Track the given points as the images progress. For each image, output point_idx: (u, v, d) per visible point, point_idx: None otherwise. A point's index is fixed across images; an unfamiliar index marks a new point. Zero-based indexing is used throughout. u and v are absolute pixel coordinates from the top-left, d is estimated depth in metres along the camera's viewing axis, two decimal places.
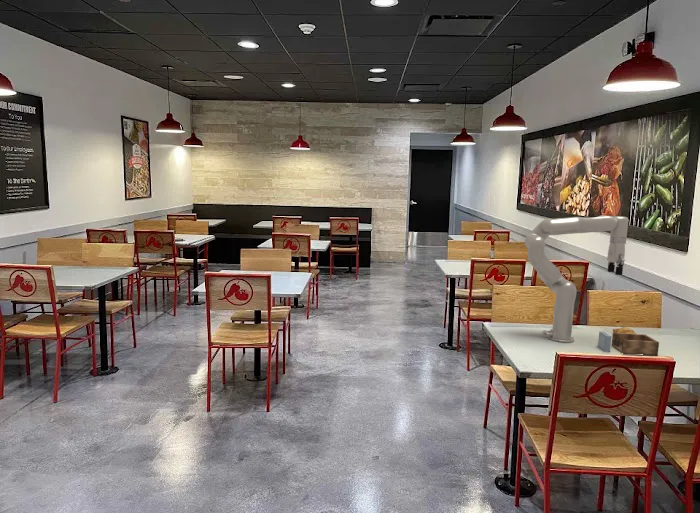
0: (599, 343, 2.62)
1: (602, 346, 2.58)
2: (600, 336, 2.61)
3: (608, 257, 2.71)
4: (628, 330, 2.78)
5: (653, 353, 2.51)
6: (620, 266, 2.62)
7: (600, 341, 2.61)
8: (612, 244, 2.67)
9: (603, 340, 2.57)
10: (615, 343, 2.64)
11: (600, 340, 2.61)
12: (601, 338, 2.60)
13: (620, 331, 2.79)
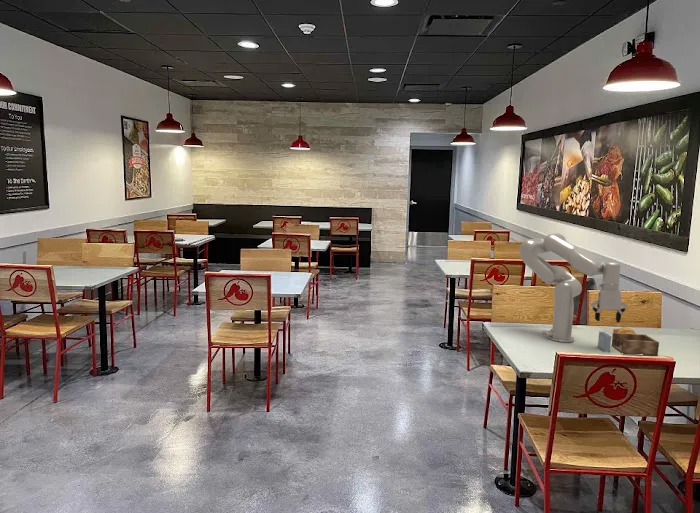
0: (599, 343, 2.62)
1: (602, 346, 2.58)
2: (600, 336, 2.61)
3: (605, 306, 2.54)
4: (628, 330, 2.78)
5: (653, 353, 2.51)
6: None
7: (600, 341, 2.61)
8: (612, 292, 2.53)
9: (603, 340, 2.57)
10: (615, 343, 2.64)
11: (600, 340, 2.61)
12: (600, 338, 2.60)
13: (620, 331, 2.79)
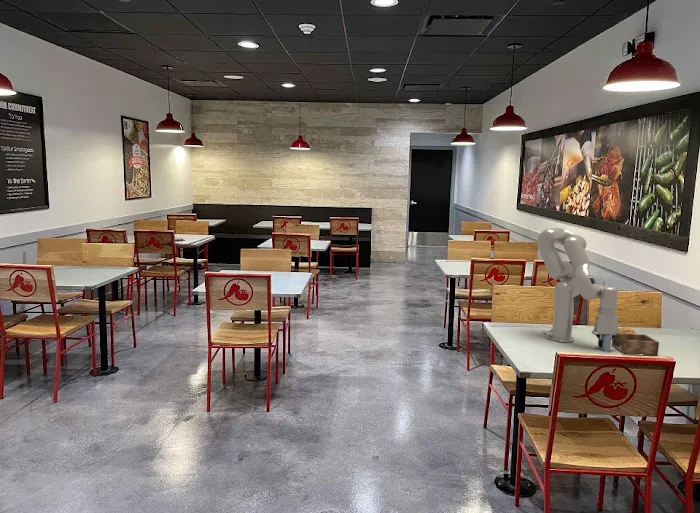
0: None
1: (602, 346, 2.58)
2: None
3: (602, 330, 2.56)
4: (628, 330, 2.78)
5: (653, 353, 2.51)
6: None
7: None
8: (610, 316, 2.55)
9: (603, 340, 2.57)
10: (615, 343, 2.64)
11: None
12: None
13: (620, 331, 2.79)
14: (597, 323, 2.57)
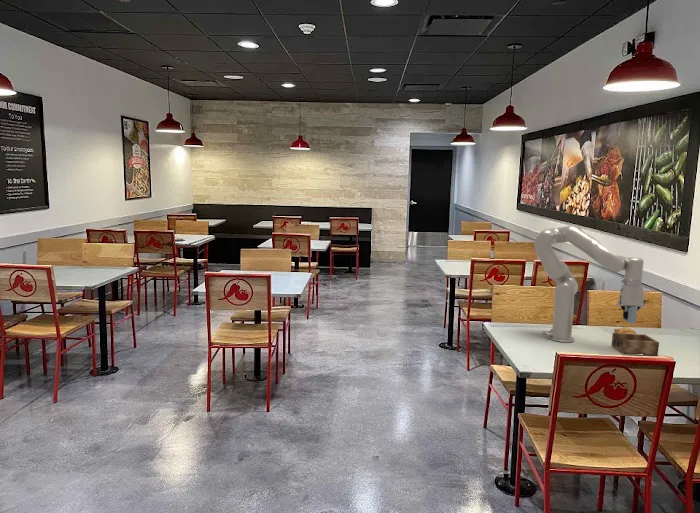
0: None
1: (628, 318, 2.55)
2: None
3: (627, 302, 2.53)
4: (629, 330, 2.78)
5: (653, 353, 2.51)
6: None
7: None
8: (635, 287, 2.52)
9: (629, 312, 2.54)
10: (615, 343, 2.64)
11: None
12: None
13: (621, 331, 2.79)
14: (622, 294, 2.54)
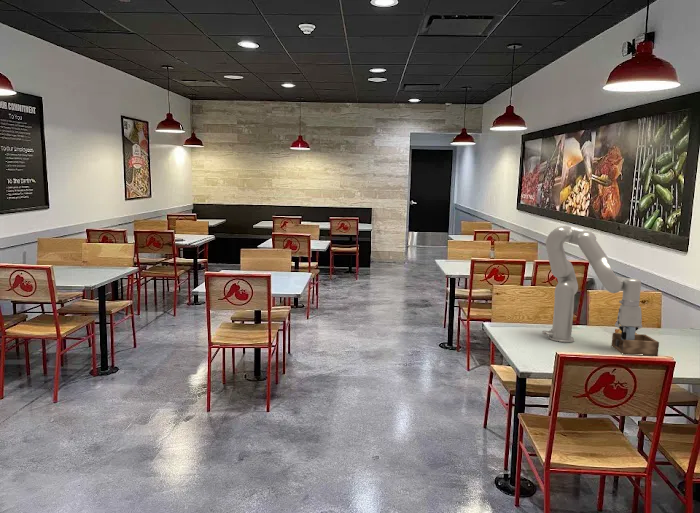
0: None
1: (626, 338, 2.56)
2: None
3: (625, 322, 2.55)
4: None
5: (653, 353, 2.51)
6: None
7: None
8: (633, 308, 2.54)
9: (627, 332, 2.55)
10: (615, 343, 2.64)
11: None
12: None
13: (621, 331, 2.79)
14: (620, 315, 2.55)
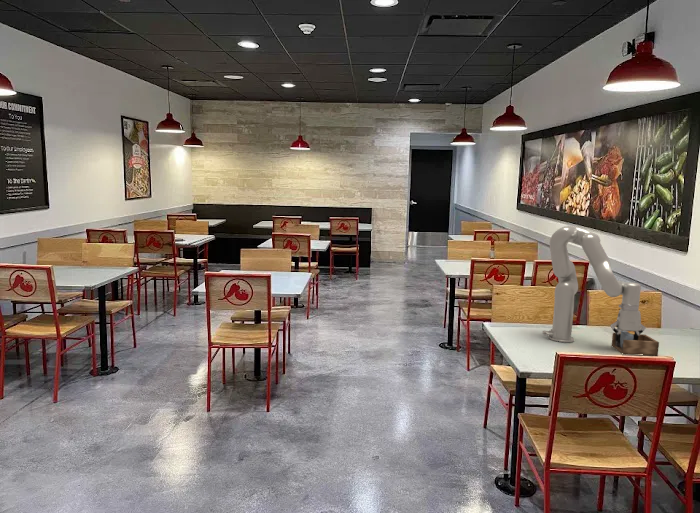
0: (621, 343, 2.61)
1: None
2: (622, 335, 2.60)
3: (624, 326, 2.55)
4: None
5: (653, 353, 2.51)
6: None
7: (622, 340, 2.60)
8: (632, 313, 2.54)
9: (625, 339, 2.56)
10: (615, 343, 2.64)
11: (622, 339, 2.60)
12: (622, 337, 2.59)
13: None
14: (620, 319, 2.56)
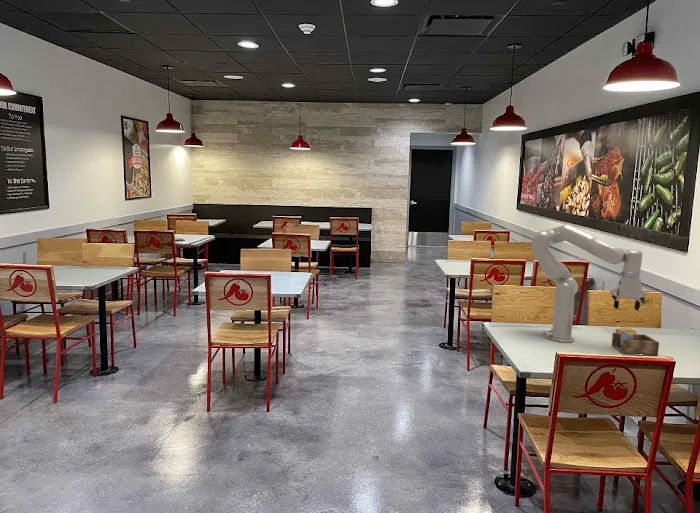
0: (621, 343, 2.61)
1: None
2: (622, 335, 2.60)
3: (624, 294, 2.54)
4: (629, 330, 2.78)
5: (653, 353, 2.51)
6: None
7: (622, 340, 2.60)
8: (633, 280, 2.53)
9: (625, 339, 2.56)
10: (615, 343, 2.64)
11: (622, 339, 2.60)
12: (622, 337, 2.59)
13: None
14: (620, 287, 2.54)
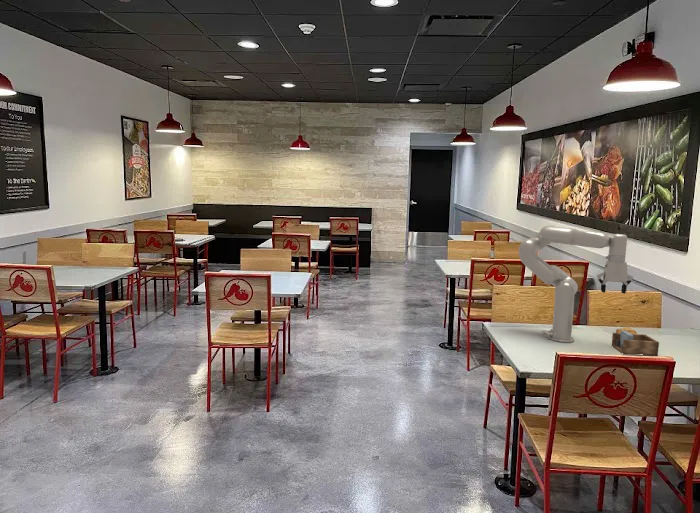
0: (621, 343, 2.61)
1: None
2: (622, 335, 2.60)
3: (611, 277, 2.57)
4: (630, 330, 2.78)
5: (653, 353, 2.51)
6: None
7: (622, 340, 2.60)
8: (619, 263, 2.56)
9: (625, 339, 2.56)
10: (615, 343, 2.64)
11: (622, 339, 2.60)
12: (622, 337, 2.59)
13: None
14: (606, 270, 2.57)
